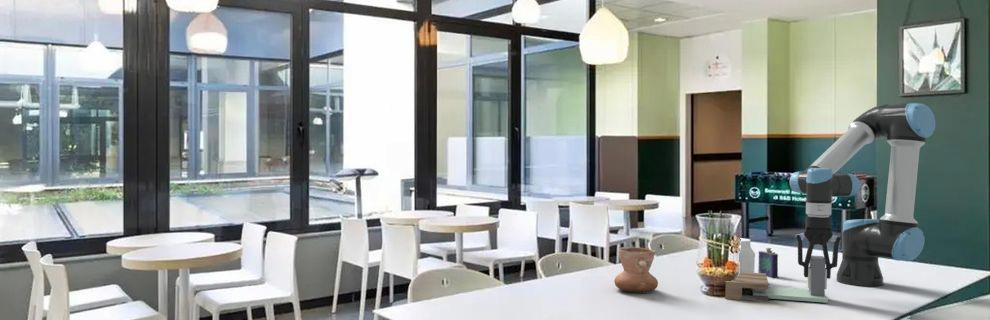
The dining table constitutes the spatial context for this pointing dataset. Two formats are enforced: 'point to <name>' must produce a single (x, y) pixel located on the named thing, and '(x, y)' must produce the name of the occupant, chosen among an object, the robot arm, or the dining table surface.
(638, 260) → the ceramic jug
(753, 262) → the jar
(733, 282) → the dock
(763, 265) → the flask
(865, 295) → the dining table surface
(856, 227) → the robot arm
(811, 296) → the green platform with post
